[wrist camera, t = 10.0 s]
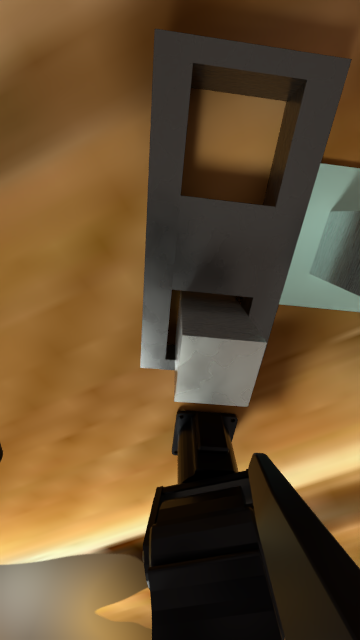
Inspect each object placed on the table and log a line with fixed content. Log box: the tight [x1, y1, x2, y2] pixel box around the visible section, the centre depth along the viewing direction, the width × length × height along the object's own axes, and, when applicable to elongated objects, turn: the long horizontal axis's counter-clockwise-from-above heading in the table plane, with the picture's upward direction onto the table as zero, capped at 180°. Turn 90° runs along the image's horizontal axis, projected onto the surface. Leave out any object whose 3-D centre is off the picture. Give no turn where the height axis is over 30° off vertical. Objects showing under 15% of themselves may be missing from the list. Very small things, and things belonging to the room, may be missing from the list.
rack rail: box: [140, 29, 352, 376], centre depth 17 cm, size 20×10×2 cm, turn 174°
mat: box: [279, 163, 360, 312], centre depth 18 cm, size 10×8×1 cm
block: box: [174, 290, 267, 407], centre depth 17 cm, size 4×4×8 cm
